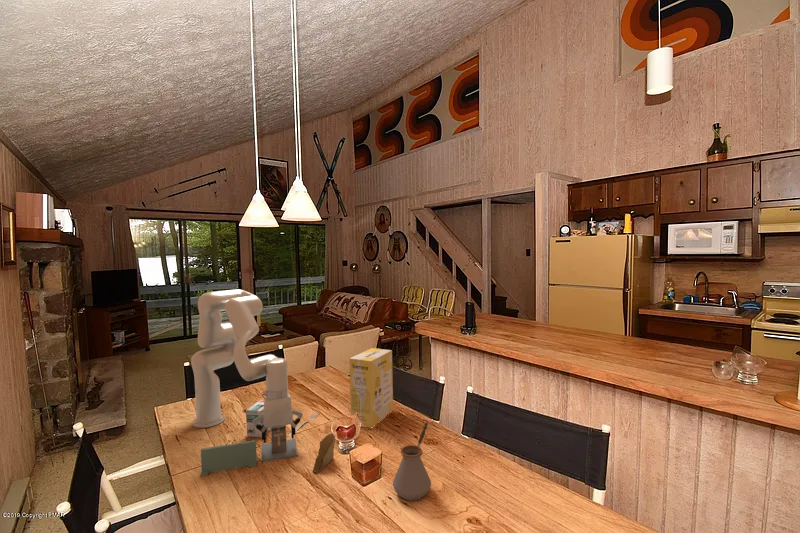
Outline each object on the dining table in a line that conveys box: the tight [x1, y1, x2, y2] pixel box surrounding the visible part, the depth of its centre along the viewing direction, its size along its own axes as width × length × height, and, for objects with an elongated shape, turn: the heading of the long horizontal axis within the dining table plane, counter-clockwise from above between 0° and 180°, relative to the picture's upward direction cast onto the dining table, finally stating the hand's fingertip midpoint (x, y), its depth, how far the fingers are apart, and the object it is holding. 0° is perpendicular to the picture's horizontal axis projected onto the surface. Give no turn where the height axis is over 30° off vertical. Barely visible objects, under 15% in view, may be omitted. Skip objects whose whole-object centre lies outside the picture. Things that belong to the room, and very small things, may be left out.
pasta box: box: [348, 347, 394, 427], centre depth 163 cm, size 18×10×28 cm, turn 153°
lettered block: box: [270, 425, 287, 454], centre depth 137 cm, size 6×5×8 cm
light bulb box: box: [245, 399, 272, 438], centre depth 153 cm, size 11×7×11 cm, turn 169°
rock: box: [312, 432, 336, 473], centre depth 129 cm, size 11×9×10 cm
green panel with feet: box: [200, 439, 258, 477], centre depth 127 cm, size 4×17×8 cm, turn 108°
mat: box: [260, 438, 298, 463], centre depth 138 cm, size 12×12×1 cm
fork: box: [287, 410, 320, 437], centre depth 157 cm, size 3×24×2 cm, turn 161°
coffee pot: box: [392, 421, 432, 501], centre depth 117 cm, size 21×12×15 cm, turn 158°
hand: (279, 439), depth 138 cm, fingers open, 9 cm apart
